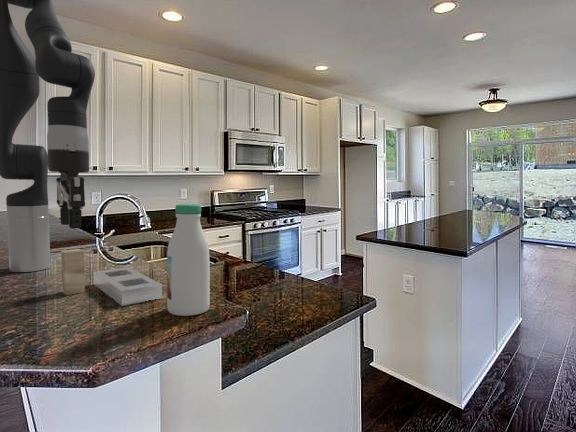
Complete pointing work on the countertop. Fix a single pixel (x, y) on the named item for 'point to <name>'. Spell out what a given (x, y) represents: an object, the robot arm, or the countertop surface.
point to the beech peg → (72, 271)
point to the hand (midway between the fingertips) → (70, 226)
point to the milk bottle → (188, 264)
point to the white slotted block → (127, 286)
